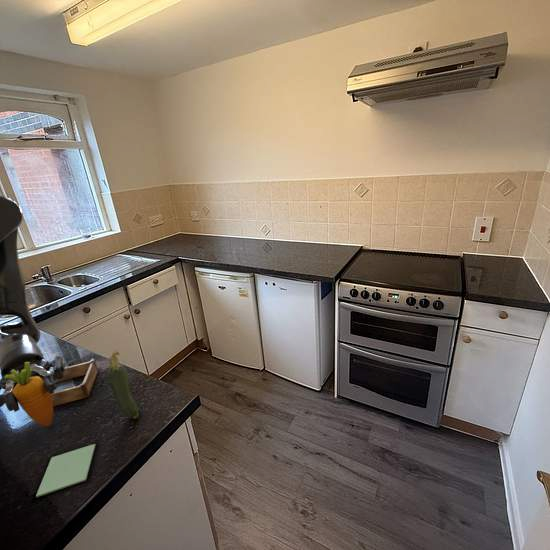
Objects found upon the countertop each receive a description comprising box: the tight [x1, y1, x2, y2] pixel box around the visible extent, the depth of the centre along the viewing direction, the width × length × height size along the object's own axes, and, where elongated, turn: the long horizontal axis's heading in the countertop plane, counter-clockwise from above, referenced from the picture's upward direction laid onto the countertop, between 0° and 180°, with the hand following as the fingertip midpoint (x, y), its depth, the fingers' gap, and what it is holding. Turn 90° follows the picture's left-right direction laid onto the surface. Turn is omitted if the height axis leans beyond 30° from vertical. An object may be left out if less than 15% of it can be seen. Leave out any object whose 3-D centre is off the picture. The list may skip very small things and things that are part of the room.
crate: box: [49, 358, 99, 407], centre depth 89 cm, size 14×13×4 cm
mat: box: [35, 443, 96, 498], centre depth 65 cm, size 9×9×1 cm
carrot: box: [5, 362, 54, 427], centre depth 58 cm, size 5×5×15 cm
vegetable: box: [106, 350, 139, 420], centre depth 74 cm, size 4×4×20 cm
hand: (33, 398), depth 56 cm, fingers closed on carrot, 5 cm apart
